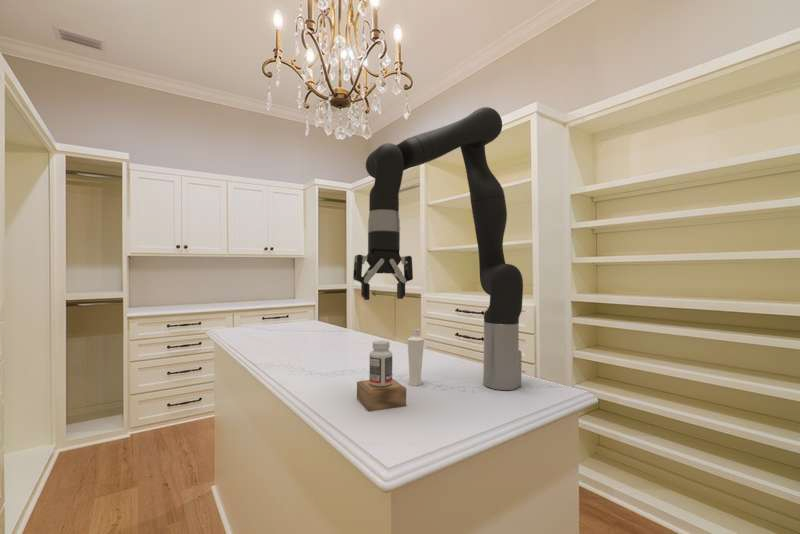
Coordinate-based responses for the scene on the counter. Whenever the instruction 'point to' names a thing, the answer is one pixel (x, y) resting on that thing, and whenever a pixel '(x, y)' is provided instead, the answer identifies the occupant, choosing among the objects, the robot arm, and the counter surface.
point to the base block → (381, 395)
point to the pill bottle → (380, 364)
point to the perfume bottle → (415, 357)
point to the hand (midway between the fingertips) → (383, 299)
